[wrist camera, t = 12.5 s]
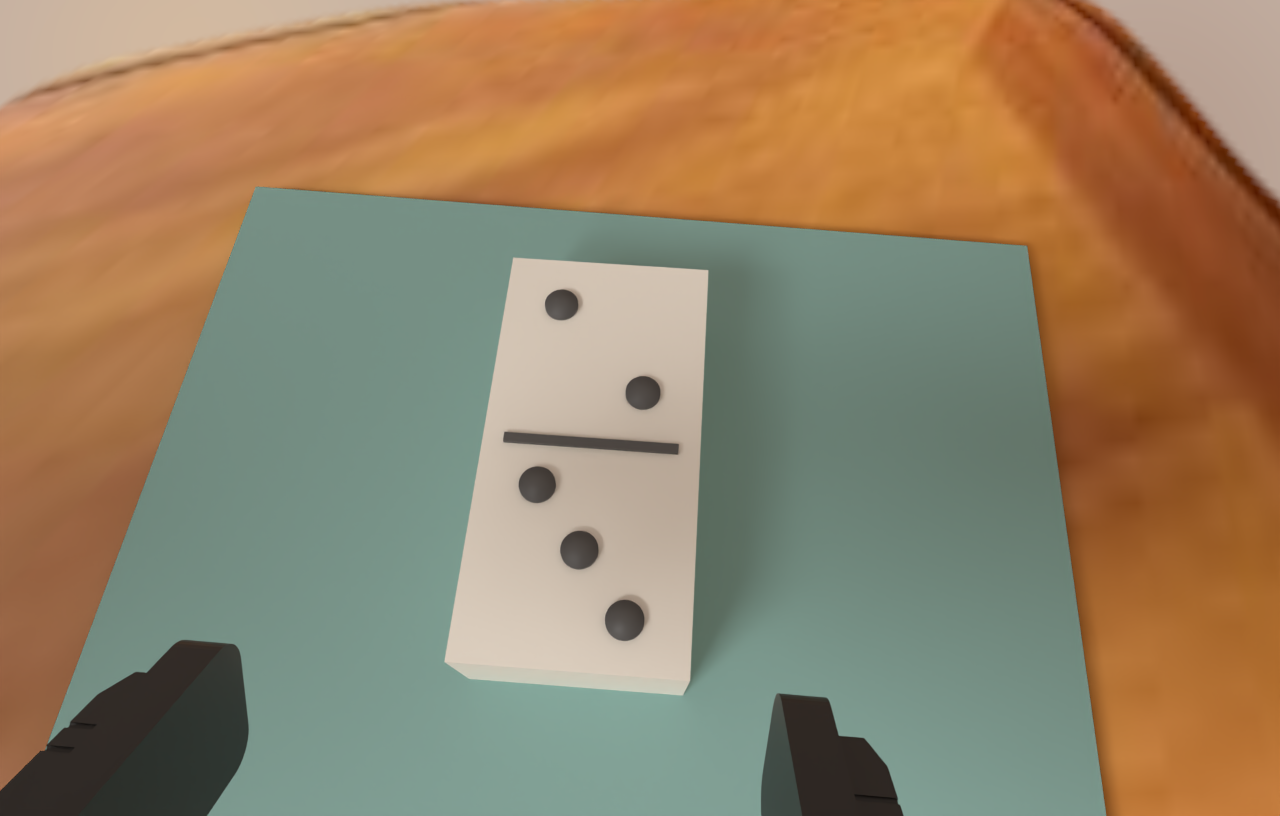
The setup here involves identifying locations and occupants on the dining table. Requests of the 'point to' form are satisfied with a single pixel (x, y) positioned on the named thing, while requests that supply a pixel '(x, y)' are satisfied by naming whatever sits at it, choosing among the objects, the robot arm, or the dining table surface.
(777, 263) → the mat
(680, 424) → the domino
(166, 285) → the dining table surface
